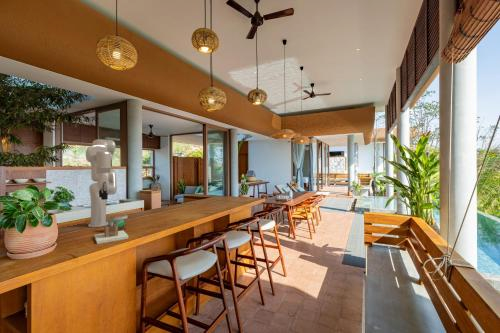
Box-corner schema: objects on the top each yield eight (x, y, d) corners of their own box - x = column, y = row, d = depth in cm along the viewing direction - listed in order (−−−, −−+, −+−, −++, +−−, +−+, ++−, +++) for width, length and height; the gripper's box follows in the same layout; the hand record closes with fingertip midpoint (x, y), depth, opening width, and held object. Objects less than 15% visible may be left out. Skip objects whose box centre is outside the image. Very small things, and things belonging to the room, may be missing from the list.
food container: (104, 232, 153) (104, 217, 153) (108, 230, 159) (108, 215, 159) (124, 231, 155) (124, 216, 155) (127, 229, 161) (127, 215, 161)
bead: (104, 235, 143) (104, 225, 143) (116, 233, 147) (116, 223, 147) (105, 237, 138) (105, 227, 138) (118, 235, 142) (118, 225, 142)
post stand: (94, 237, 143) (94, 221, 143) (123, 232, 153) (123, 218, 153) (97, 243, 131) (97, 227, 131) (128, 238, 141) (128, 222, 141)
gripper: (94, 170, 148) (94, 196, 148) (98, 171, 134) (97, 201, 135) (108, 170, 152) (107, 195, 153) (112, 171, 139) (112, 199, 140)
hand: (103, 198), depth 144 cm, fingers open, 9 cm apart
